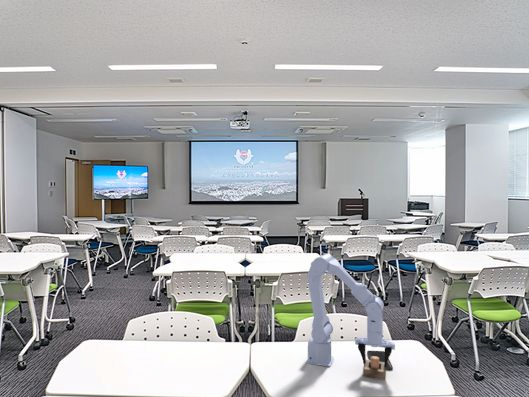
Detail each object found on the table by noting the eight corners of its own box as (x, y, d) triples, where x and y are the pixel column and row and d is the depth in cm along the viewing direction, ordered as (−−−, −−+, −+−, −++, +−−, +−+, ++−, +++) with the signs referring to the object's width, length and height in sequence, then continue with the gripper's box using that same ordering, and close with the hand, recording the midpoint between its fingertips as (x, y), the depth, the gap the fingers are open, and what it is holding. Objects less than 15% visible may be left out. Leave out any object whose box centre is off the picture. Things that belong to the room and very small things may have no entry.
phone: (385, 351, 159) (393, 368, 144) (385, 353, 159) (393, 371, 144) (366, 350, 160) (372, 367, 145) (366, 353, 160) (372, 370, 145)
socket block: (363, 376, 140) (363, 368, 140) (365, 366, 147) (365, 359, 147) (385, 380, 137) (385, 372, 137) (386, 370, 144) (386, 362, 144)
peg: (370, 374, 141) (370, 359, 141) (370, 370, 144) (370, 355, 144) (379, 376, 140) (379, 360, 140) (379, 372, 143) (379, 356, 143)
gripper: (354, 331, 140) (354, 366, 141) (394, 336, 135) (394, 372, 136) (356, 324, 147) (356, 358, 147) (394, 329, 142) (394, 363, 142)
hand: (374, 364), depth 142 cm, fingers open, 7 cm apart
